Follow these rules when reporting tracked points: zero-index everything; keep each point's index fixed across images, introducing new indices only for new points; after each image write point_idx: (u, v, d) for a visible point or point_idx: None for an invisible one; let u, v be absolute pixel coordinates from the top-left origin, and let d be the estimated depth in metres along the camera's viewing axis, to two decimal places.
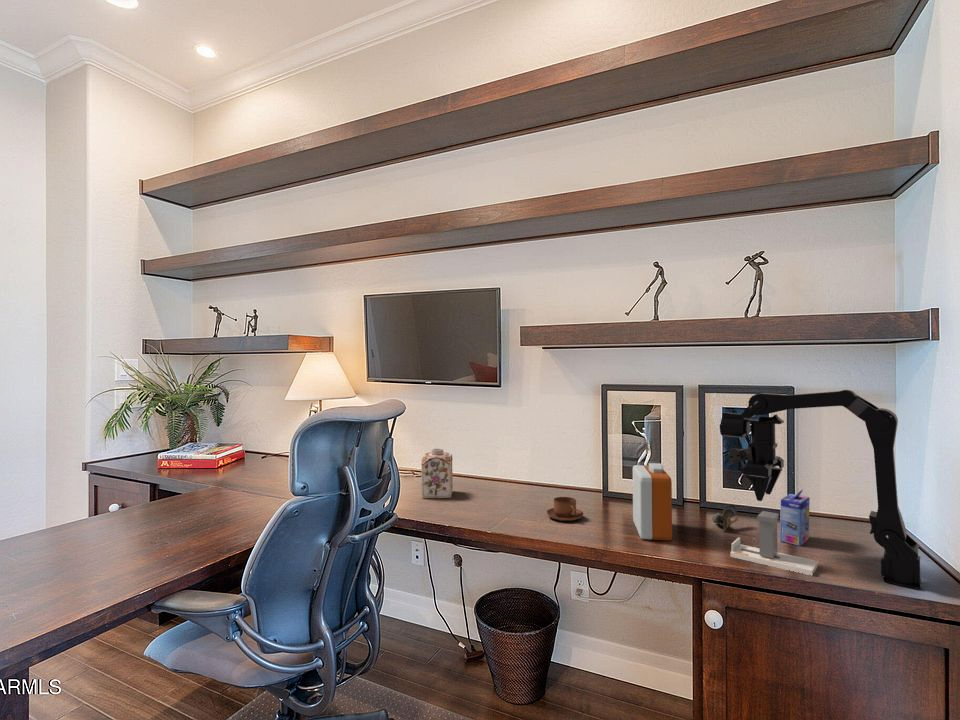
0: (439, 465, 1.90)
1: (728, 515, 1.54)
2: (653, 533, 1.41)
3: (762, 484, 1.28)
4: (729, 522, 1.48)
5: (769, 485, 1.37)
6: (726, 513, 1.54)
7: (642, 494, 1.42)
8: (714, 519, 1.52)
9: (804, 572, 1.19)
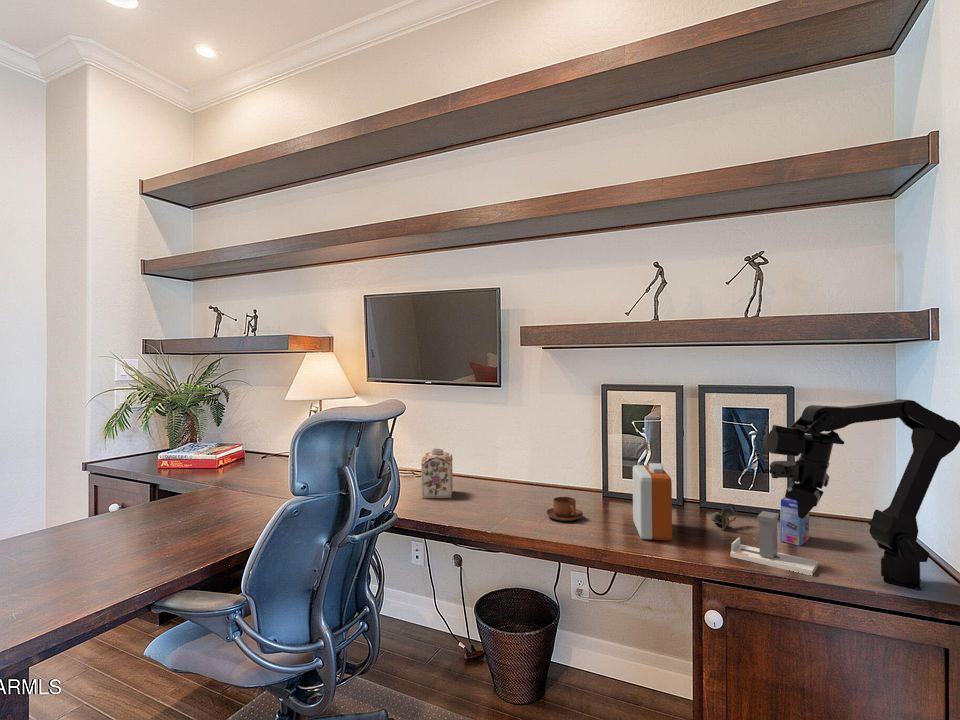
0: (439, 465, 1.90)
1: (727, 514, 1.55)
2: (653, 533, 1.41)
3: None
4: (728, 521, 1.50)
5: None
6: (725, 512, 1.55)
7: (642, 494, 1.42)
8: (713, 518, 1.53)
9: (804, 572, 1.19)
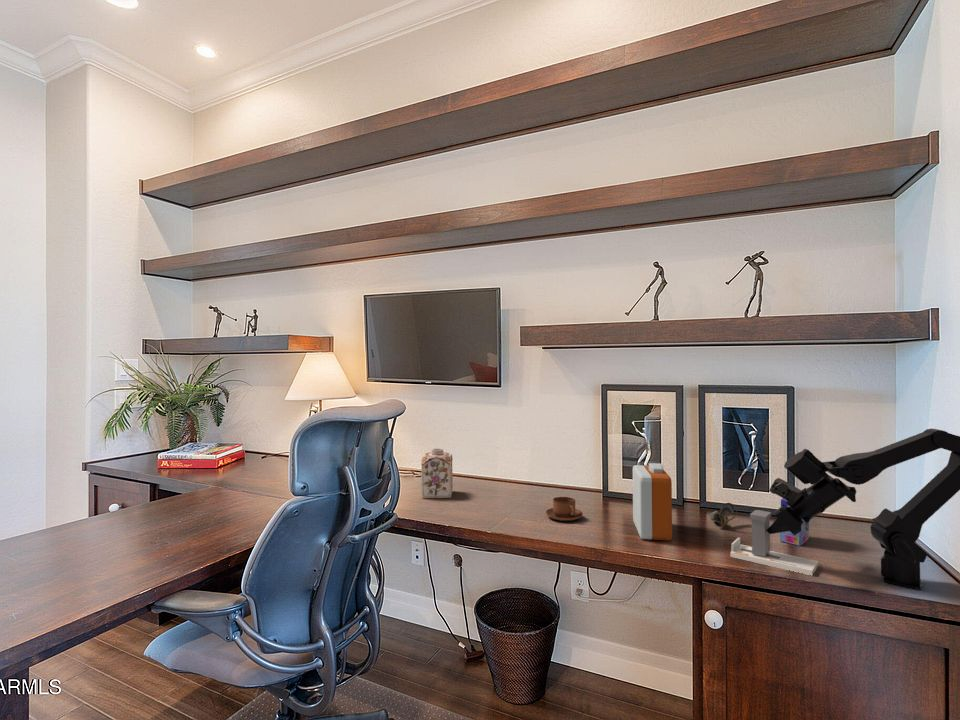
0: (439, 465, 1.90)
1: (725, 513, 1.56)
2: (653, 533, 1.41)
3: (785, 527, 1.23)
4: (726, 520, 1.51)
5: None
6: (723, 511, 1.56)
7: (642, 494, 1.42)
8: (712, 517, 1.54)
9: (804, 572, 1.19)
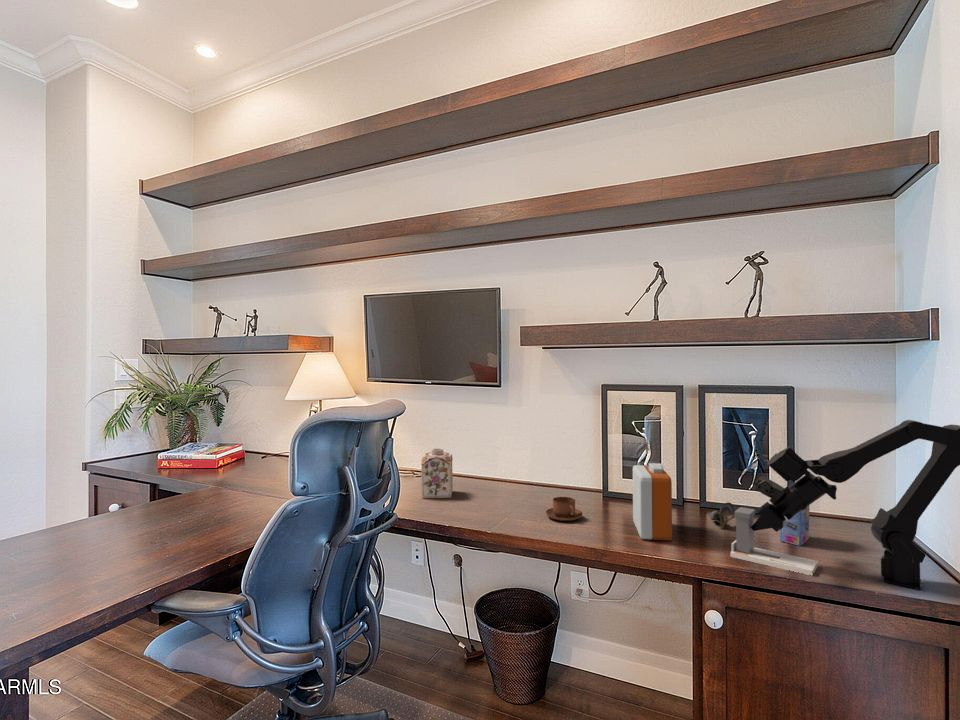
0: (439, 465, 1.90)
1: (725, 513, 1.56)
2: (653, 533, 1.41)
3: (768, 524, 1.26)
4: (726, 519, 1.51)
5: None
6: (723, 511, 1.56)
7: (642, 494, 1.42)
8: (711, 516, 1.54)
9: (804, 572, 1.19)
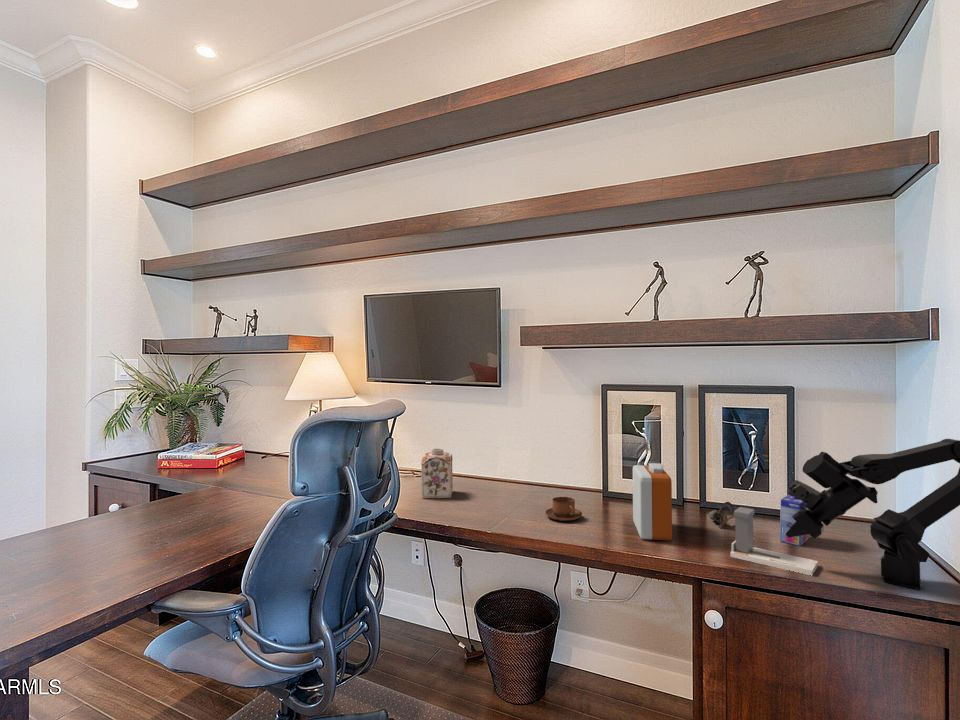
0: (439, 465, 1.90)
1: (724, 512, 1.57)
2: (653, 533, 1.41)
3: (804, 530, 1.21)
4: (725, 519, 1.52)
5: None
6: (723, 510, 1.57)
7: (642, 494, 1.42)
8: (711, 516, 1.55)
9: (804, 572, 1.19)
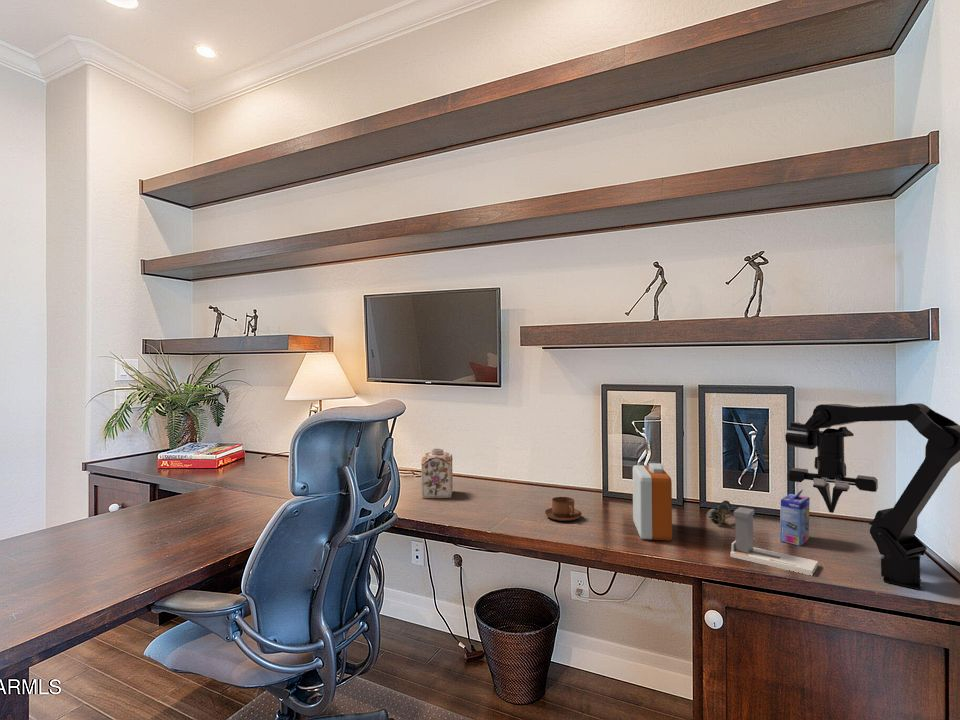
0: (439, 465, 1.90)
1: (723, 511, 1.58)
2: (653, 533, 1.41)
3: None
4: (724, 517, 1.53)
5: (831, 503, 1.28)
6: (721, 509, 1.58)
7: (642, 494, 1.42)
8: (709, 514, 1.56)
9: (804, 572, 1.19)
